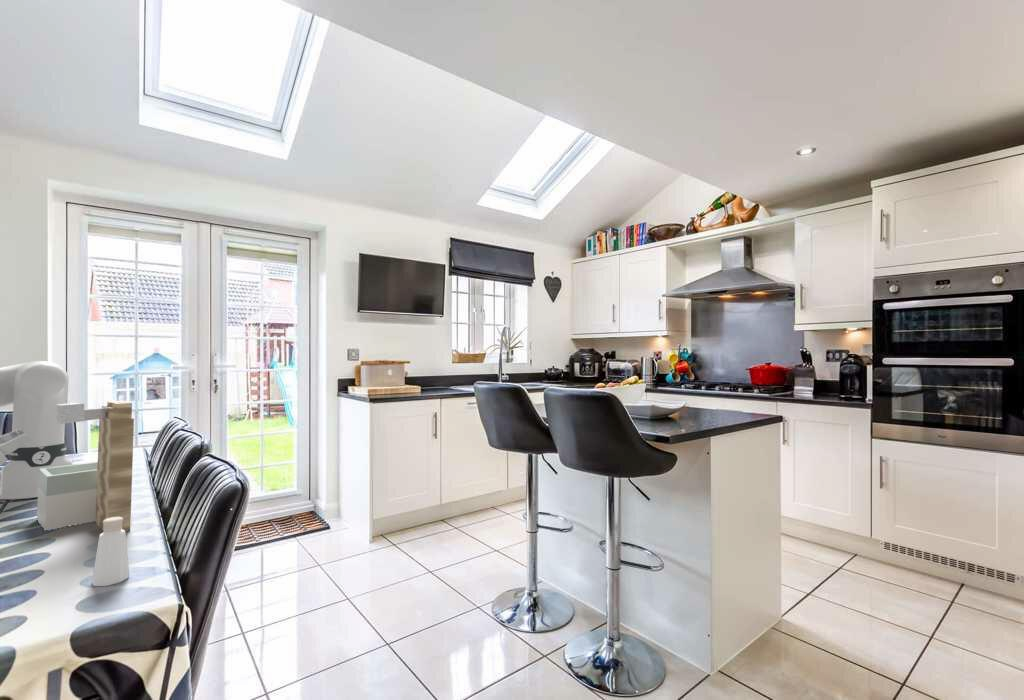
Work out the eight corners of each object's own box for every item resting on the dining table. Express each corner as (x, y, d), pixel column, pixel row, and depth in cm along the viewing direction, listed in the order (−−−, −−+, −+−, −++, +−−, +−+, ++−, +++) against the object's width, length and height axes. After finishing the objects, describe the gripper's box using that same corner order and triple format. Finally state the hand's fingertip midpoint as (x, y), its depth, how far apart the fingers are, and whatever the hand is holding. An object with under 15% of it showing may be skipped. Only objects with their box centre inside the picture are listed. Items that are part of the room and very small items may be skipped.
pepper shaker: (85, 589, 81) (87, 525, 82) (98, 576, 86) (100, 515, 87) (124, 583, 84) (126, 521, 84) (134, 571, 89) (136, 512, 89)
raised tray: (36, 519, 116) (38, 468, 116) (117, 505, 128) (118, 459, 128) (45, 531, 108) (47, 476, 109) (129, 514, 120) (131, 465, 121)
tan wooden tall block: (95, 523, 114) (99, 401, 114) (116, 519, 117) (120, 400, 118) (108, 535, 106) (112, 404, 107) (130, 530, 109) (134, 403, 110)
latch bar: (57, 422, 106) (56, 404, 106) (119, 415, 114) (118, 399, 114) (60, 423, 103) (59, 405, 103) (123, 416, 112) (123, 400, 112)
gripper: (-55, 480, 98) (28, 440, 108) (-50, 499, 85) (43, 451, 95) (-78, 456, 96) (9, 417, 105) (-77, 472, 83) (22, 426, 93)
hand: (26, 434), depth 100 cm, fingers open, 8 cm apart
